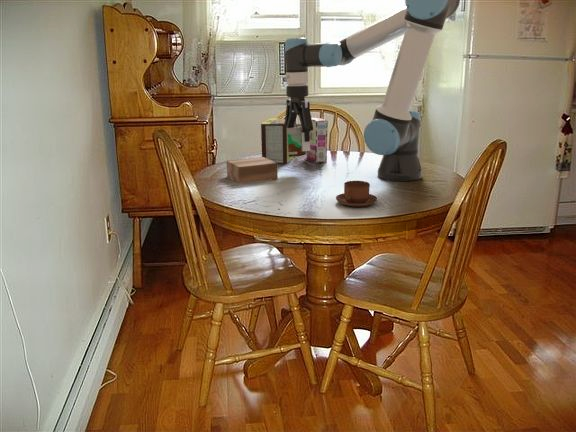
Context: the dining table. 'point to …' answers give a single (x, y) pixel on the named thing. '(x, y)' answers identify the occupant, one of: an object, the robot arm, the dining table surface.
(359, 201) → the cup and saucer
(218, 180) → the dining table surface
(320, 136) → the candy bar box
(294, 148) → the food container
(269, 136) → the protein box
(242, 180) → the walnut block
